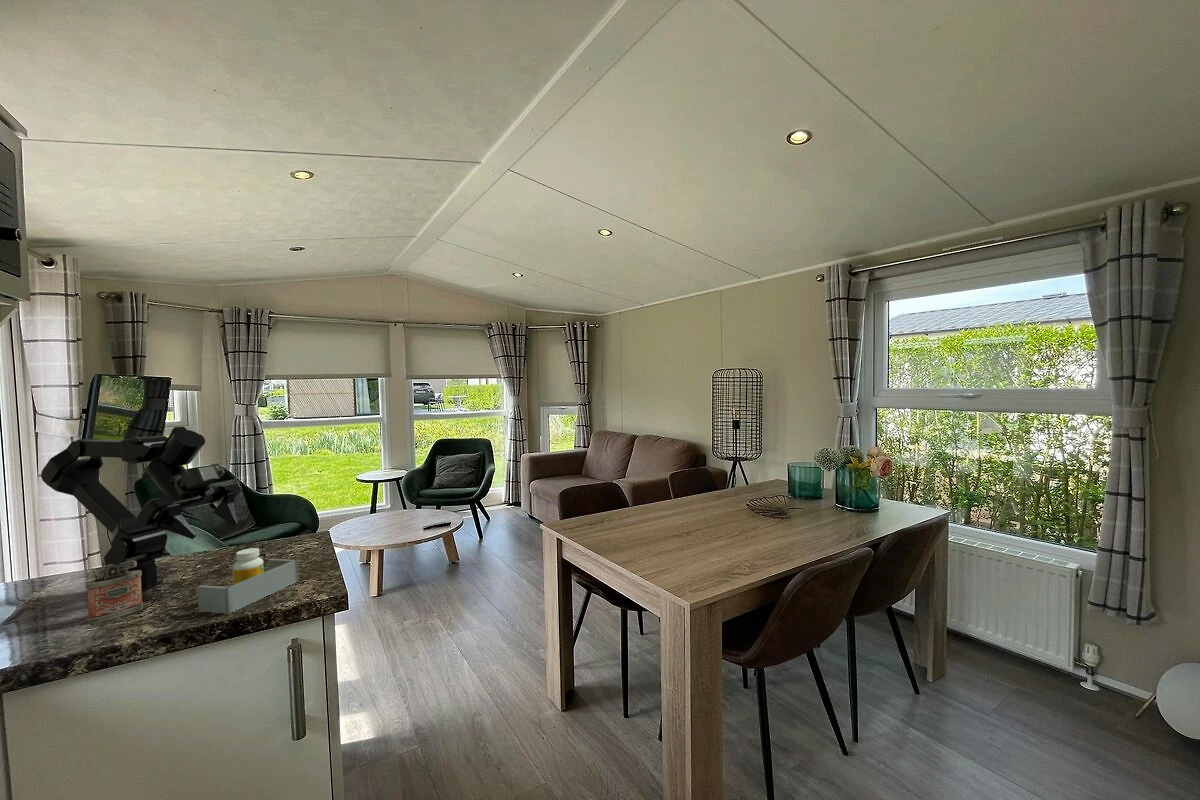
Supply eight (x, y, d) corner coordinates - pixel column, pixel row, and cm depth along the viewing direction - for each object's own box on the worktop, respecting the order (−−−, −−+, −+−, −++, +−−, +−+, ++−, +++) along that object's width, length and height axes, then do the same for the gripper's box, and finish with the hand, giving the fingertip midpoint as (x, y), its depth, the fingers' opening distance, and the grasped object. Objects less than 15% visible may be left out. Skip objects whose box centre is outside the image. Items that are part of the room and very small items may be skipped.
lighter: (90, 624, 93) (87, 572, 93) (85, 621, 95) (82, 569, 95) (146, 608, 100) (143, 559, 100) (140, 605, 102) (137, 556, 102)
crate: (198, 611, 97) (197, 586, 97) (272, 580, 114) (271, 558, 114) (229, 614, 96) (227, 588, 96) (298, 581, 112) (297, 559, 112)
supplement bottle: (233, 595, 105) (231, 550, 105) (263, 588, 109) (261, 545, 109) (234, 603, 101) (232, 556, 101) (266, 595, 104) (264, 550, 104)
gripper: (145, 459, 98) (191, 516, 96) (233, 448, 117) (274, 496, 114) (117, 498, 100) (161, 554, 98) (208, 482, 118) (248, 529, 116)
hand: (216, 531), depth 107 cm, fingers open, 9 cm apart
